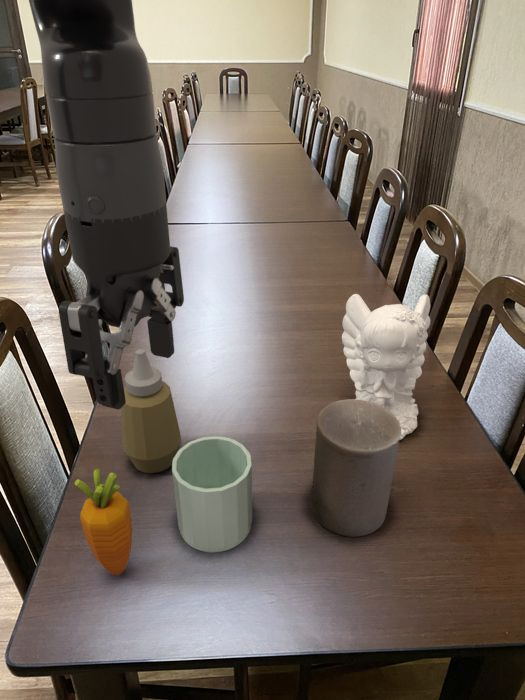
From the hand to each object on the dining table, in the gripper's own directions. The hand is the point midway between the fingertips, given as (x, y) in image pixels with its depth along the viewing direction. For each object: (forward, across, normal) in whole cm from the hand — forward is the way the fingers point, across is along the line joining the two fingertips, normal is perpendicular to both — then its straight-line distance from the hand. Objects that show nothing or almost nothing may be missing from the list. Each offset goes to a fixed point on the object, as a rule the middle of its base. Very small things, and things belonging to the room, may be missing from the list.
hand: (139, 378), depth 49 cm
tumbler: (+26, -7, +3) cm, 27 cm away
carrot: (+26, +3, -4) cm, 26 cm away
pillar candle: (+26, -15, +18) cm, 35 cm away
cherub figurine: (+26, -35, +18) cm, 47 cm away
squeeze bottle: (+26, -14, -10) cm, 31 cm away
